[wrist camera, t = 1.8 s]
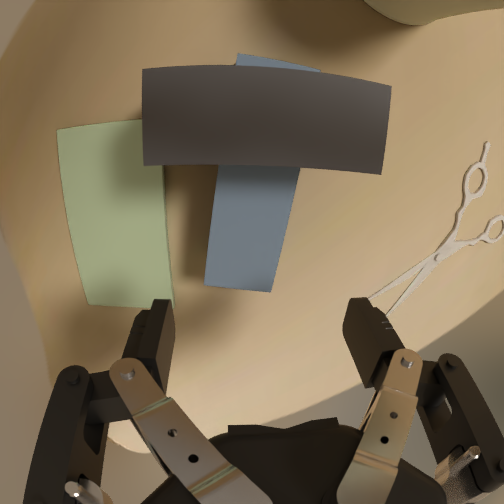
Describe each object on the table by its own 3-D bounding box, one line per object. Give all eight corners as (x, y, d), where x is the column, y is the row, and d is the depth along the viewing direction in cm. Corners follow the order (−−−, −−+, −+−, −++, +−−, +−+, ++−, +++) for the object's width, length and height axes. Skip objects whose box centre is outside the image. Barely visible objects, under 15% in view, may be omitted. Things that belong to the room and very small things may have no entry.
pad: (60, 128, 18) (56, 130, 17) (162, 117, 18) (161, 118, 18) (90, 300, 25) (88, 304, 24) (174, 304, 25) (174, 308, 25)
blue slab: (236, 63, 17) (237, 53, 13) (302, 75, 18) (320, 70, 14) (207, 252, 23) (203, 285, 20) (264, 259, 24) (270, 292, 20)
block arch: (178, 80, 17) (142, 68, 10) (330, 88, 18) (391, 86, 10) (177, 138, 19) (143, 166, 11) (326, 143, 20) (381, 174, 12)
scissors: (516, 219, 23) (389, 343, 29) (511, 216, 24) (387, 338, 30) (488, 140, 19) (334, 291, 25) (483, 138, 20) (332, 286, 26)
